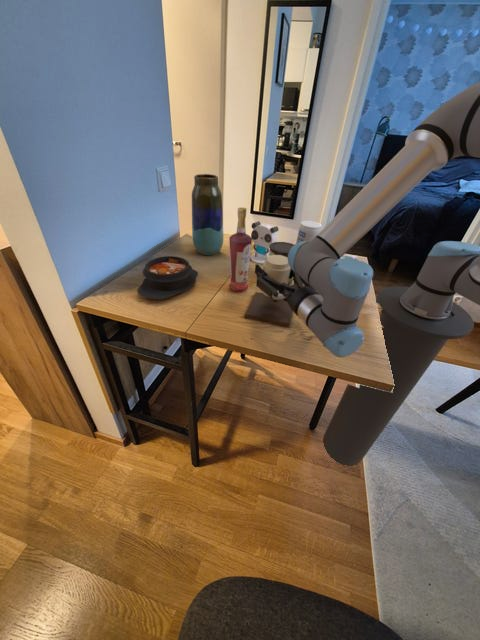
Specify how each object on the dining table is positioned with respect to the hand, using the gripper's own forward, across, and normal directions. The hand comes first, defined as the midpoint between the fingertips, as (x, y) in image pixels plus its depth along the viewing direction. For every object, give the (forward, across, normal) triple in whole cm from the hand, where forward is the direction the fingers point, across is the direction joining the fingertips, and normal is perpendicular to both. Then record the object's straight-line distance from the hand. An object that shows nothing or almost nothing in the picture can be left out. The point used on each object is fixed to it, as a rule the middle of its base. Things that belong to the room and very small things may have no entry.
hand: (269, 266), depth 81 cm
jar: (-5, 0, -6) cm, 8 cm away
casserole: (+20, -29, -14) cm, 38 cm away
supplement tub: (+31, +36, -13) cm, 49 cm away
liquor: (+11, -5, -14) cm, 18 cm away
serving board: (-5, 0, -13) cm, 14 cm away
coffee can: (+12, +12, -13) cm, 21 cm away
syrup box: (-3, +28, -13) cm, 31 cm away
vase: (+46, -7, -14) cm, 49 cm away
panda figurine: (+33, +15, -13) cm, 39 cm away
